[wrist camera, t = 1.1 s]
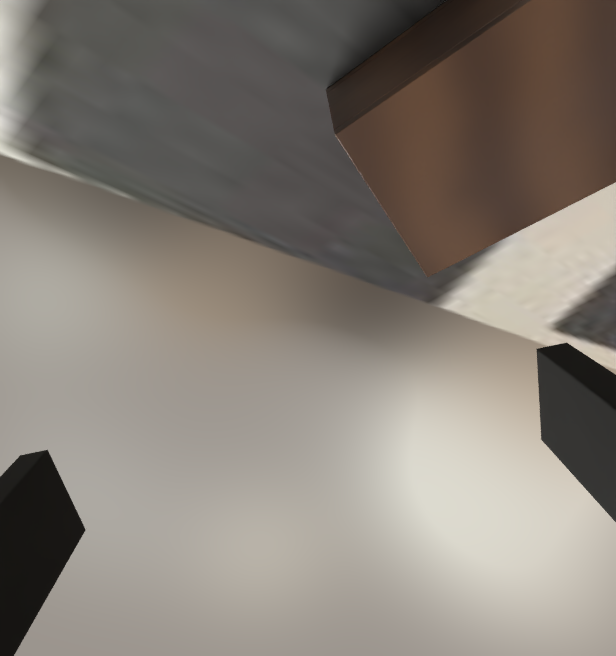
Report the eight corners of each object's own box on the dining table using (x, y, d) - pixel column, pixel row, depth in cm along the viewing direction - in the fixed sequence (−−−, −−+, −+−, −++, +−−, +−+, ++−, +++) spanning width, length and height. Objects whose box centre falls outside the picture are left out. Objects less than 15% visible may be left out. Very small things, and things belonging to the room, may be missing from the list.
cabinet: (541, -70, 30) (608, -53, 24) (588, 119, 39) (645, 167, 33) (325, 89, 36) (334, 135, 30) (407, 221, 45) (427, 277, 39)
